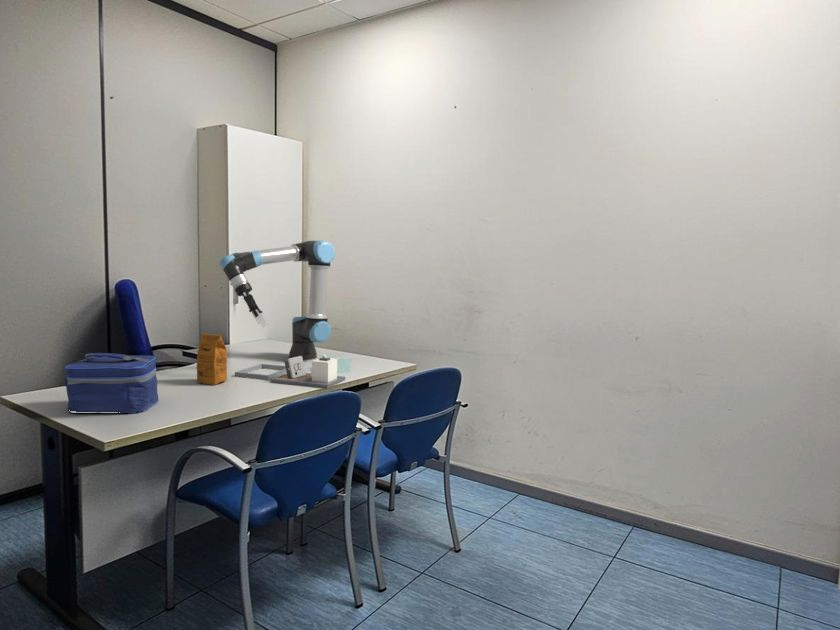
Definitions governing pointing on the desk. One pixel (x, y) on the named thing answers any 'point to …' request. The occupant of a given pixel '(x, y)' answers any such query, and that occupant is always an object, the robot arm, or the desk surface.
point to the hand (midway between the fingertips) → (263, 324)
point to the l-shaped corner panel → (342, 364)
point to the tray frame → (260, 376)
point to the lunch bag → (112, 383)
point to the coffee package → (211, 360)
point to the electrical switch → (295, 367)
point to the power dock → (307, 381)
